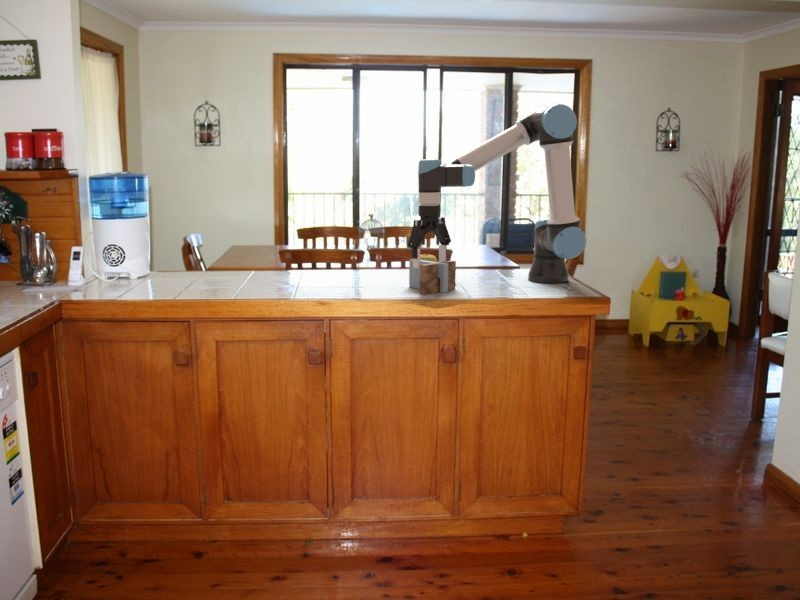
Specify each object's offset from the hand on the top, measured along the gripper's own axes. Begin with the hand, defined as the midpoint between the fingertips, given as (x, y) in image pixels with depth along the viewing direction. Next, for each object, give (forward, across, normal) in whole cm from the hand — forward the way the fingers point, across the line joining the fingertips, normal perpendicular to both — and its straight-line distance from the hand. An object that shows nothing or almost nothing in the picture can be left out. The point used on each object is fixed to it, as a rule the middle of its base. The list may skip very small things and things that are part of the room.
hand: (429, 265), depth 265 cm
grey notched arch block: (+8, 0, 0) cm, 9 cm away
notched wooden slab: (+9, 0, +4) cm, 10 cm away
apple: (+9, -27, -26) cm, 39 cm away
